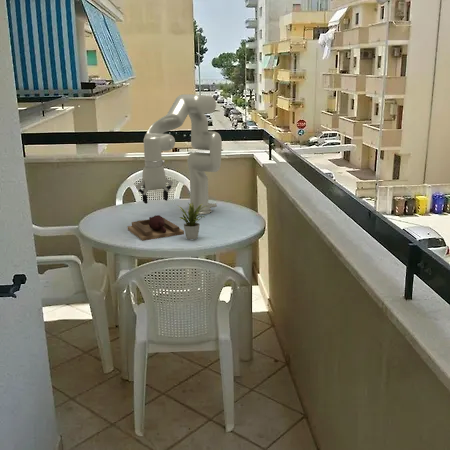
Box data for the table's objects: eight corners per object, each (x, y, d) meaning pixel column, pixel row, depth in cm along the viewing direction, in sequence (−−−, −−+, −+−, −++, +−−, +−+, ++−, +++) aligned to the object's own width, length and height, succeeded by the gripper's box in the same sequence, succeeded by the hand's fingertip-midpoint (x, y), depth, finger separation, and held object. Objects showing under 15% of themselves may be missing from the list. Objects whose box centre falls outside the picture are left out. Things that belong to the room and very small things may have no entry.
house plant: (216, 239, 223) (216, 203, 218) (188, 245, 215) (187, 207, 211) (199, 232, 234) (199, 197, 230) (173, 236, 227) (171, 201, 222)
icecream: (140, 214, 235) (155, 224, 223) (154, 208, 238) (169, 217, 226) (144, 227, 238) (158, 237, 226) (158, 221, 241) (173, 231, 230)
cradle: (167, 223, 248) (166, 216, 247) (184, 234, 231) (183, 226, 230) (127, 229, 238) (127, 222, 237) (142, 240, 222) (141, 233, 221)
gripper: (168, 161, 232) (170, 197, 238) (132, 164, 224) (134, 202, 230) (174, 163, 226) (176, 200, 231) (137, 167, 218) (140, 206, 223)
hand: (155, 201), depth 230 cm, fingers open, 9 cm apart
